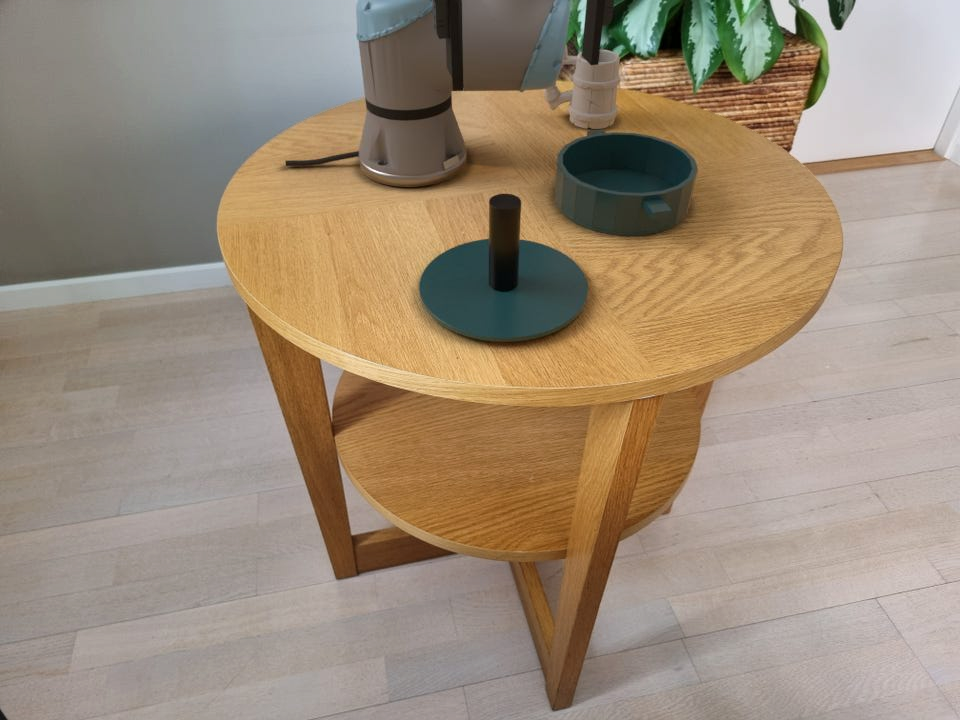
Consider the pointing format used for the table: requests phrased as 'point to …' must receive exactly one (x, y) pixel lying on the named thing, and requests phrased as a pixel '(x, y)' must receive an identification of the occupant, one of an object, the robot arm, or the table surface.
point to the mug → (589, 90)
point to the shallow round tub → (624, 183)
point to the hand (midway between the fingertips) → (522, 66)
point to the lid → (503, 283)
